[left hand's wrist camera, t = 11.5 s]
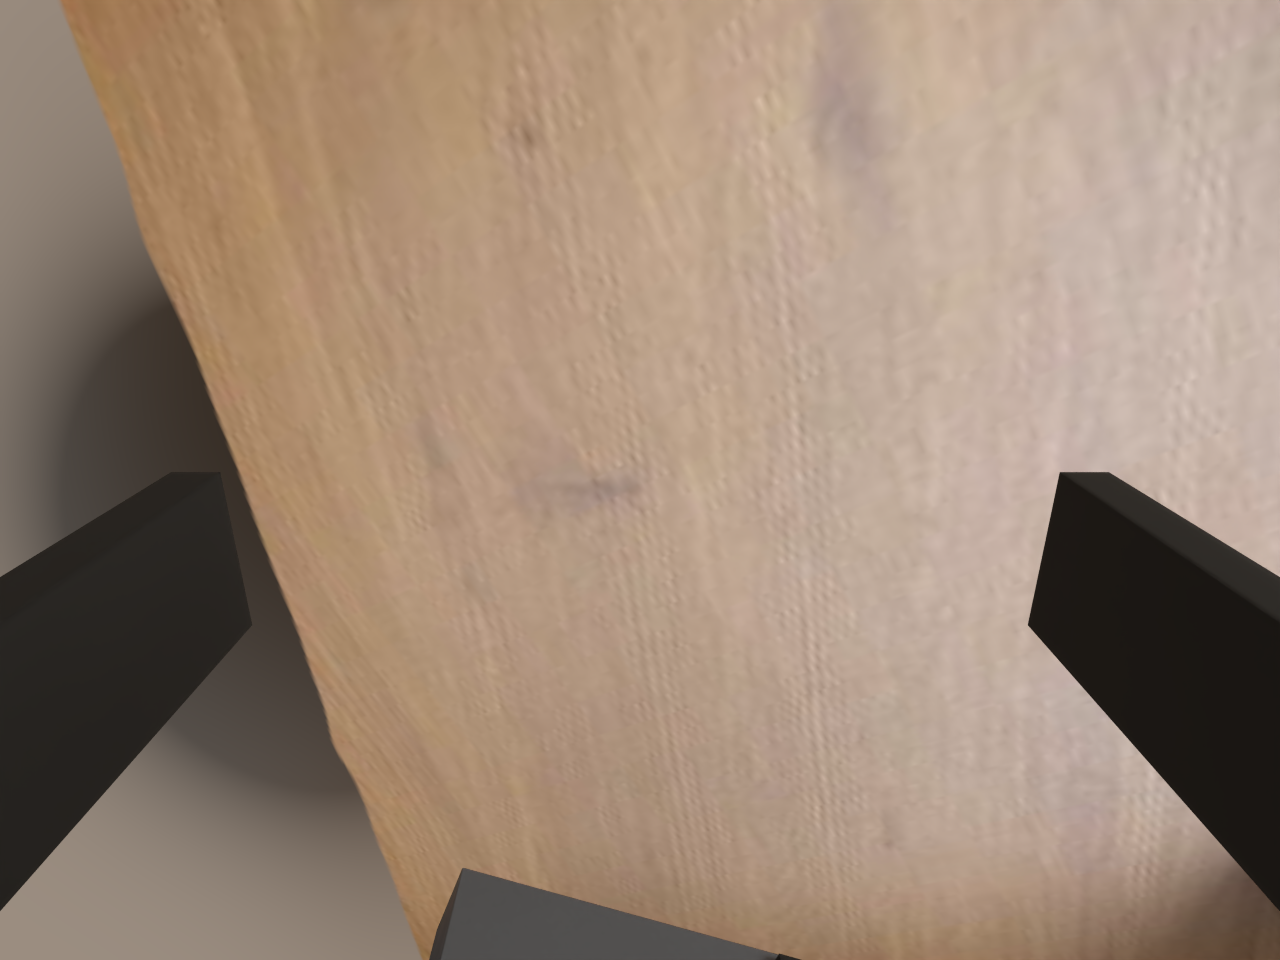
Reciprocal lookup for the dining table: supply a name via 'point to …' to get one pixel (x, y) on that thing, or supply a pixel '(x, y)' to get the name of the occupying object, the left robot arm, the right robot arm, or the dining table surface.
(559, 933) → the bar
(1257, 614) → the left robot arm
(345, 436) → the dining table surface
